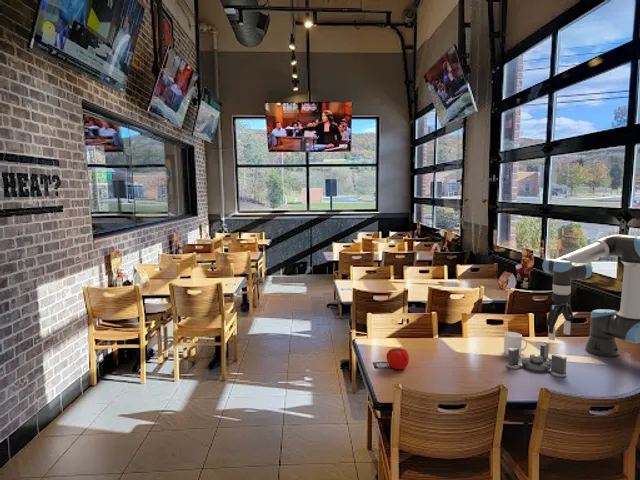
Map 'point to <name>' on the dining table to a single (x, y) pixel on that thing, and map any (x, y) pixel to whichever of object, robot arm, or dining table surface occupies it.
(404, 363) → the tomato
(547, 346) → the knob
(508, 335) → the mug
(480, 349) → the dining table surface
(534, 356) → the tribrach
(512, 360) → the dark grey angled finger
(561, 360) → the knob
